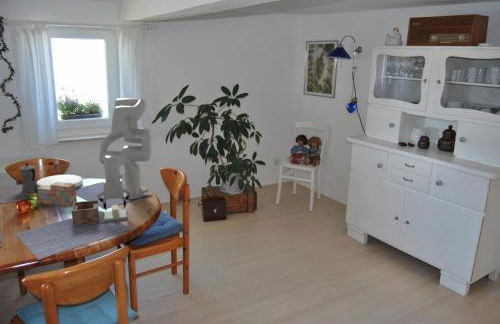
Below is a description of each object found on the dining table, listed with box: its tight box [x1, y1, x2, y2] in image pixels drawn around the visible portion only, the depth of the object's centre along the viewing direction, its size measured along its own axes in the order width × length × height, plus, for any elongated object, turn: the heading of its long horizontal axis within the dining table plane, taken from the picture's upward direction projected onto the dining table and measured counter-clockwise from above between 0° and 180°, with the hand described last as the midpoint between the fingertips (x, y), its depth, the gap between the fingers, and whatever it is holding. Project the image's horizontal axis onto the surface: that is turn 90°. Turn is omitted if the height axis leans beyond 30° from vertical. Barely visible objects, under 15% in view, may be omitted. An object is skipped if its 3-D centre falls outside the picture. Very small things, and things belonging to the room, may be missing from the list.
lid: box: [104, 204, 128, 221], centre depth 222 cm, size 11×11×5 cm
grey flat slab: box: [100, 211, 128, 224], centre depth 223 cm, size 13×14×1 cm
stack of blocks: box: [36, 182, 78, 208], centre depth 240 cm, size 21×6×12 cm, turn 76°
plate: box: [36, 174, 84, 188], centre depth 270 cm, size 28×6×27 cm
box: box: [71, 199, 100, 227], centre depth 218 cm, size 12×13×8 cm
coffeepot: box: [18, 162, 38, 193], centre depth 260 cm, size 15×9×18 cm, turn 53°
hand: (115, 208), depth 222 cm, fingers open, 9 cm apart
